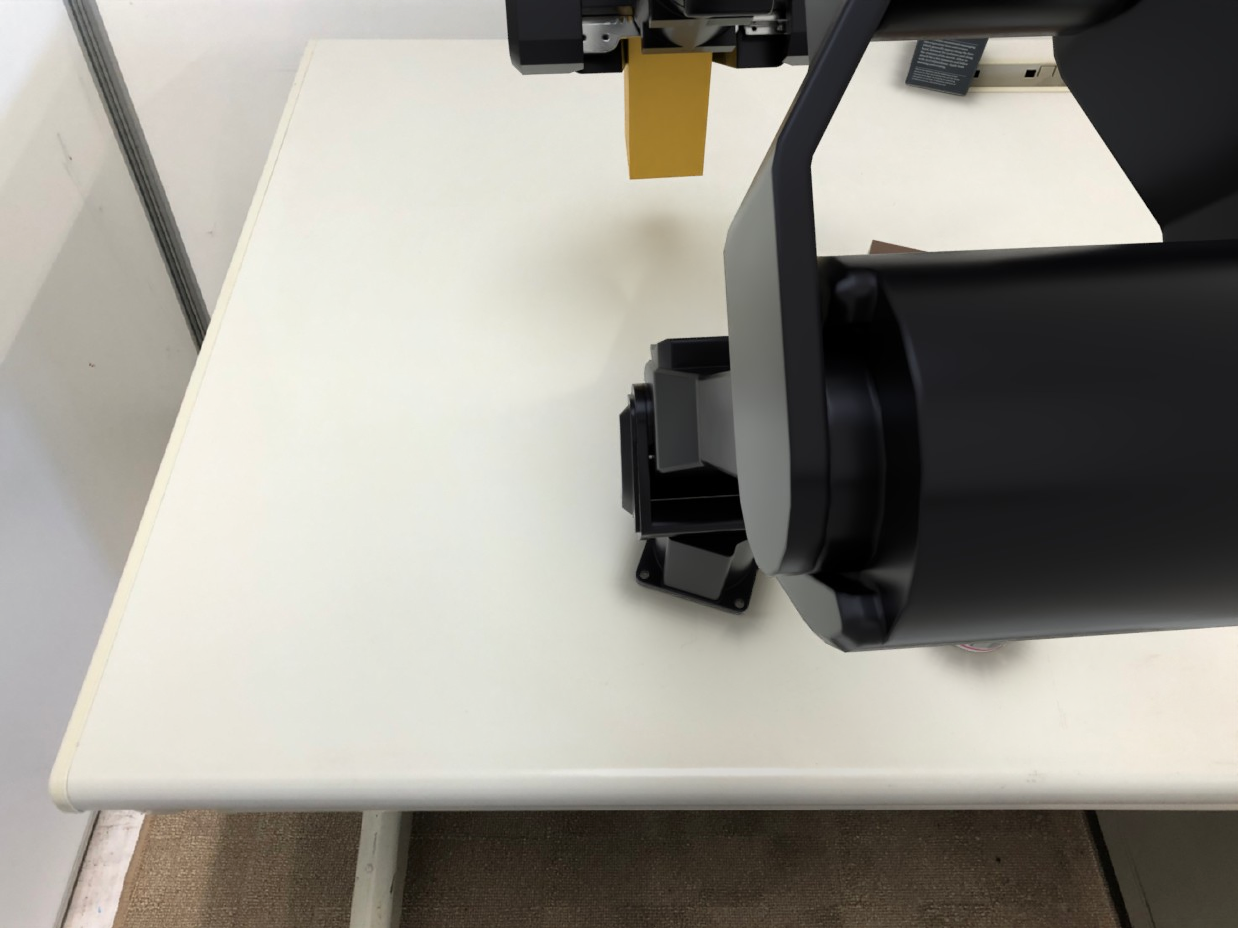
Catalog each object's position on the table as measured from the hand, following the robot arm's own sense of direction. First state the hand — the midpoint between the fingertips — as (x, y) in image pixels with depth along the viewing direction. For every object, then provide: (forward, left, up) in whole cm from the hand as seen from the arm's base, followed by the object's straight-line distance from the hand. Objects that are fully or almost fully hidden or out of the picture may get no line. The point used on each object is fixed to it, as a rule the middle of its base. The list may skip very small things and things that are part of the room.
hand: (664, 50), depth 50 cm
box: (+28, -19, -13) cm, 37 cm away
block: (-1, -1, -7) cm, 7 cm away
